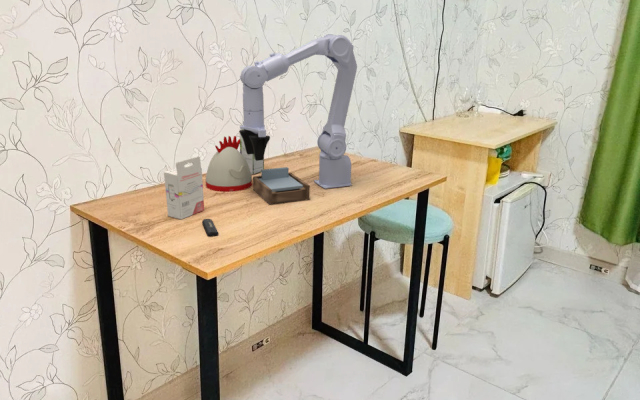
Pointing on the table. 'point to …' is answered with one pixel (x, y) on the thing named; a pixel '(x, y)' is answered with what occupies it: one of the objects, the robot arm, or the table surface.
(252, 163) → the syrup box
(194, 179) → the ink cartridge box
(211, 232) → the usb stick
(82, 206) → the table surface
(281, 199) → the box
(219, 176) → the kitchen timer
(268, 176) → the lid
